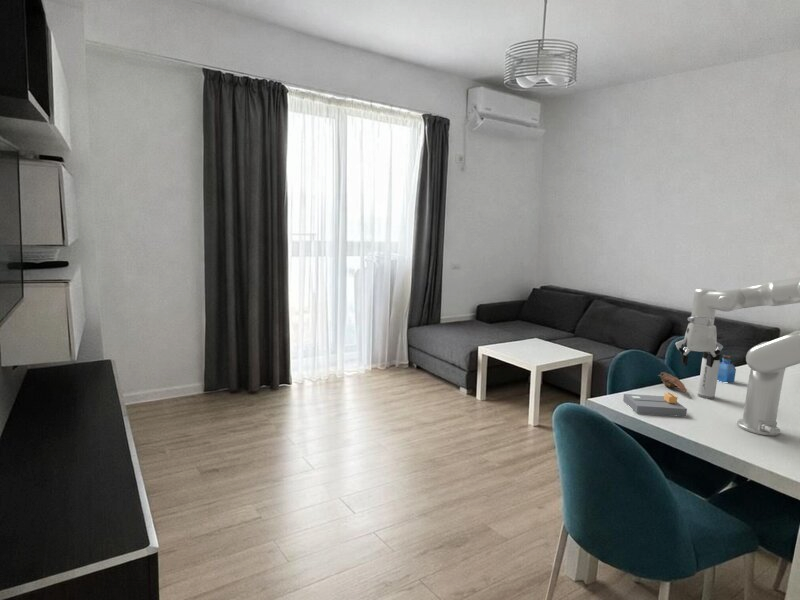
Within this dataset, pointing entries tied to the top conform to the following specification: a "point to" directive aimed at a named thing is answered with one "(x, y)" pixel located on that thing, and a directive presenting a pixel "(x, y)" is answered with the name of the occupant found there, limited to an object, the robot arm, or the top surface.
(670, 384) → the bird sculpture
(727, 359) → the perfume bottle
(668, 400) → the fader knob
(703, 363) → the travel mug
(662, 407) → the console
